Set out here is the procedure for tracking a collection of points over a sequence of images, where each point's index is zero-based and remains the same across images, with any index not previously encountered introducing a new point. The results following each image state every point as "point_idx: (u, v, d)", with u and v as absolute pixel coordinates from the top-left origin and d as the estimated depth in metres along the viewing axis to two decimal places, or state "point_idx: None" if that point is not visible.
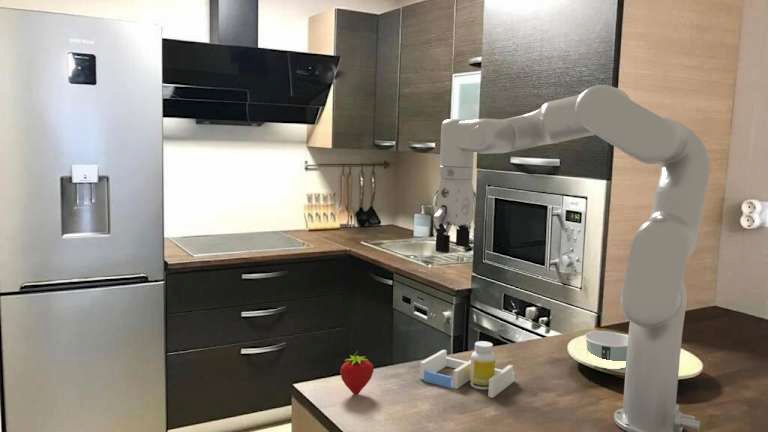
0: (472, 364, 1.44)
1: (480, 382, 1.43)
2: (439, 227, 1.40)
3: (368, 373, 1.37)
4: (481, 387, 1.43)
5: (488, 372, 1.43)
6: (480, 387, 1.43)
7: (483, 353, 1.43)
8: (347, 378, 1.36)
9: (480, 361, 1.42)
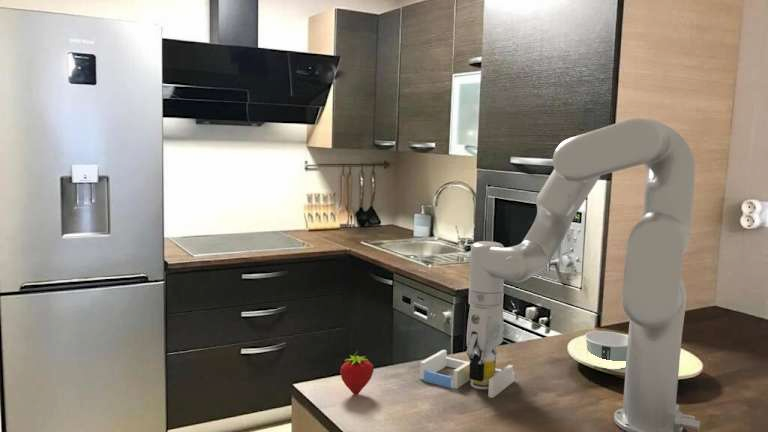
0: None
1: (480, 382, 1.43)
2: (474, 358, 1.40)
3: (368, 373, 1.37)
4: (481, 387, 1.43)
5: (488, 372, 1.43)
6: (480, 387, 1.43)
7: None
8: (347, 378, 1.36)
9: None
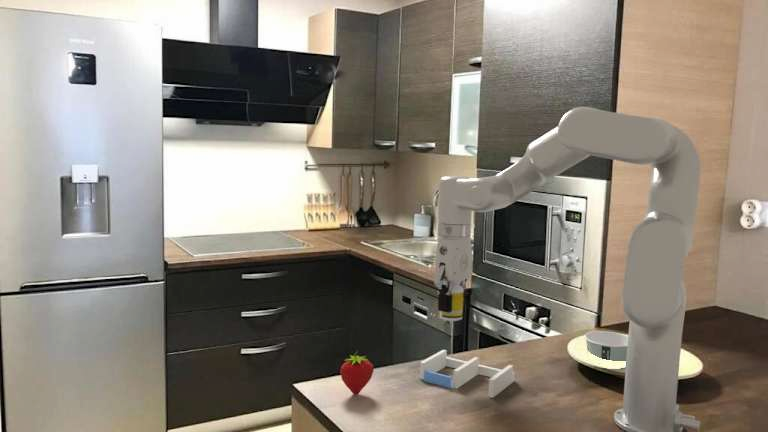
0: None
1: (448, 313, 1.46)
2: (442, 289, 1.43)
3: (368, 373, 1.37)
4: (449, 318, 1.46)
5: (456, 303, 1.46)
6: (448, 318, 1.46)
7: None
8: (347, 378, 1.36)
9: None
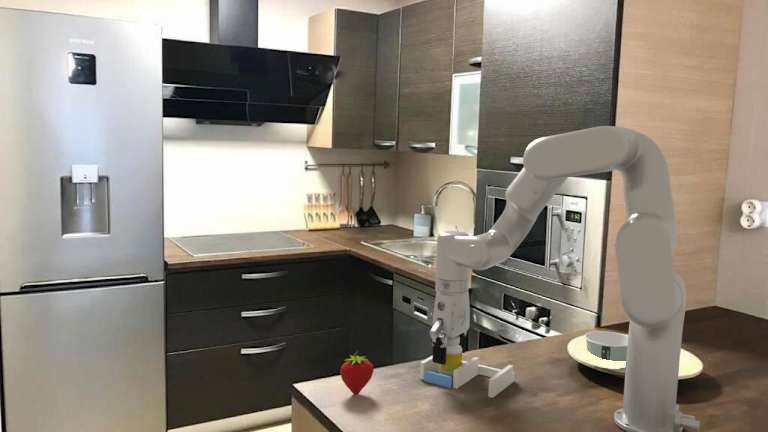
0: None
1: (447, 373, 1.48)
2: (436, 341, 1.43)
3: (368, 373, 1.37)
4: None
5: (455, 363, 1.47)
6: None
7: (450, 345, 1.48)
8: (347, 378, 1.36)
9: (447, 354, 1.47)
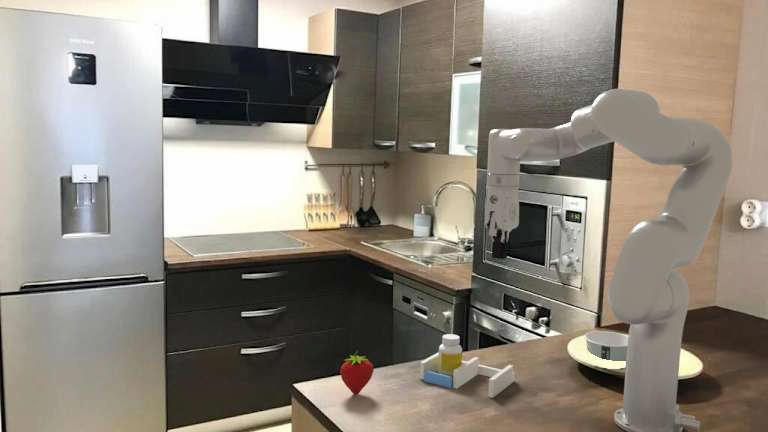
0: (440, 356, 1.49)
1: (447, 373, 1.48)
2: (497, 236, 1.51)
3: (368, 373, 1.37)
4: None
5: (455, 363, 1.47)
6: None
7: (450, 345, 1.48)
8: (347, 378, 1.36)
9: (447, 354, 1.47)
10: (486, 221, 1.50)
